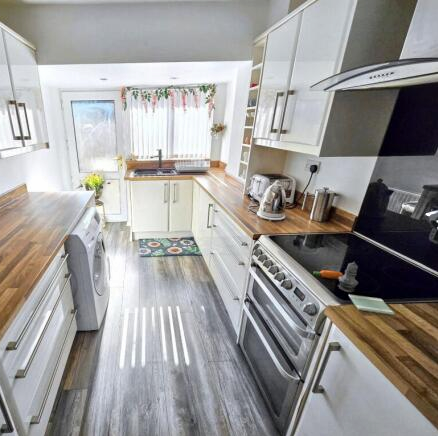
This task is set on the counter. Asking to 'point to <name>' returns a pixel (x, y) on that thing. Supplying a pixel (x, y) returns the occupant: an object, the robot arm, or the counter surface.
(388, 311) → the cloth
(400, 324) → the counter surface
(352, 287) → the grey chess piece
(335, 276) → the carrot
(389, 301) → the counter surface
